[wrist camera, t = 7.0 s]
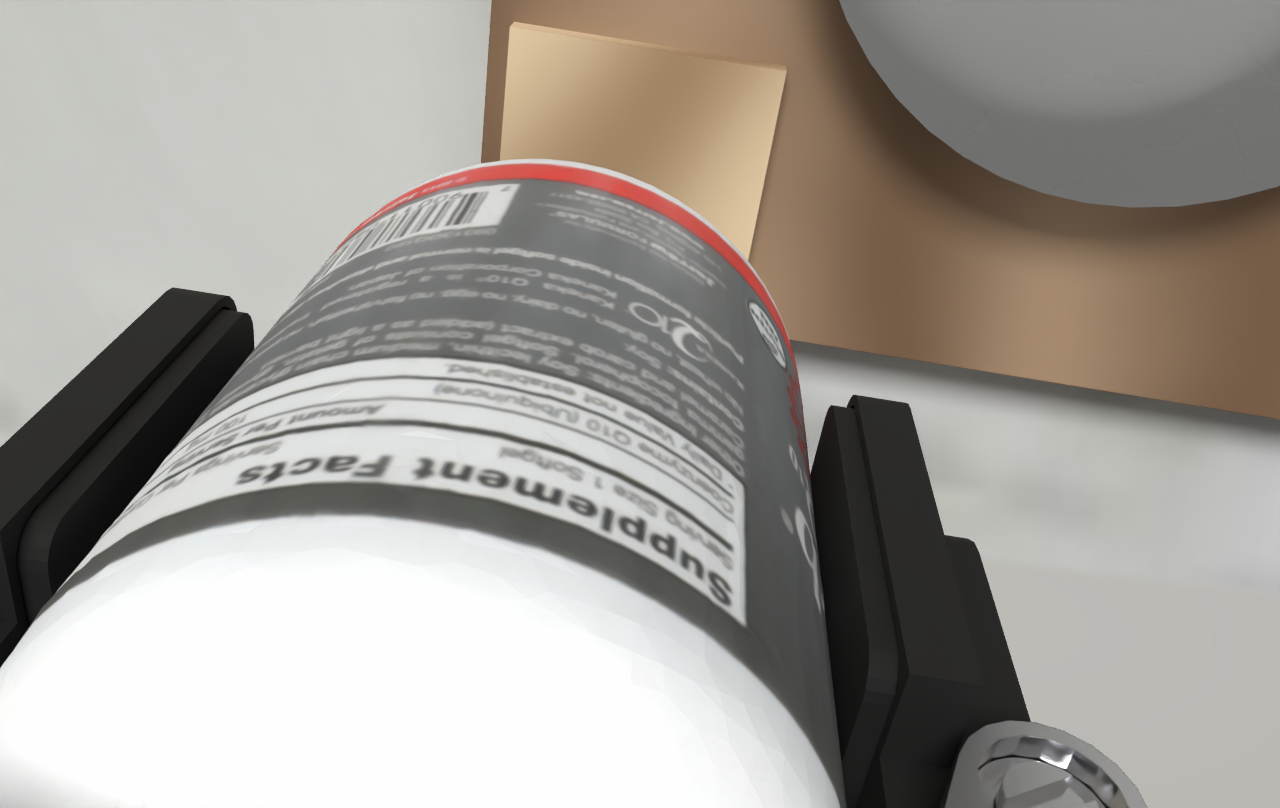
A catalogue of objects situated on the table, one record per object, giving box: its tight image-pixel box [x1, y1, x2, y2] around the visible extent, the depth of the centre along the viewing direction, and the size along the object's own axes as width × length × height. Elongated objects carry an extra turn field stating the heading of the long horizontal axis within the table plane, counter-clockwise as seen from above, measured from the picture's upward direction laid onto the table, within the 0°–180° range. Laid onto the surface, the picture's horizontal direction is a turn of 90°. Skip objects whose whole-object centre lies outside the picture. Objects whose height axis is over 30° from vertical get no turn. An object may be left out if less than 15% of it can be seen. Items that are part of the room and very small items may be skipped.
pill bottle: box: [0, 159, 847, 808], centre depth 9 cm, size 6×6×10 cm
